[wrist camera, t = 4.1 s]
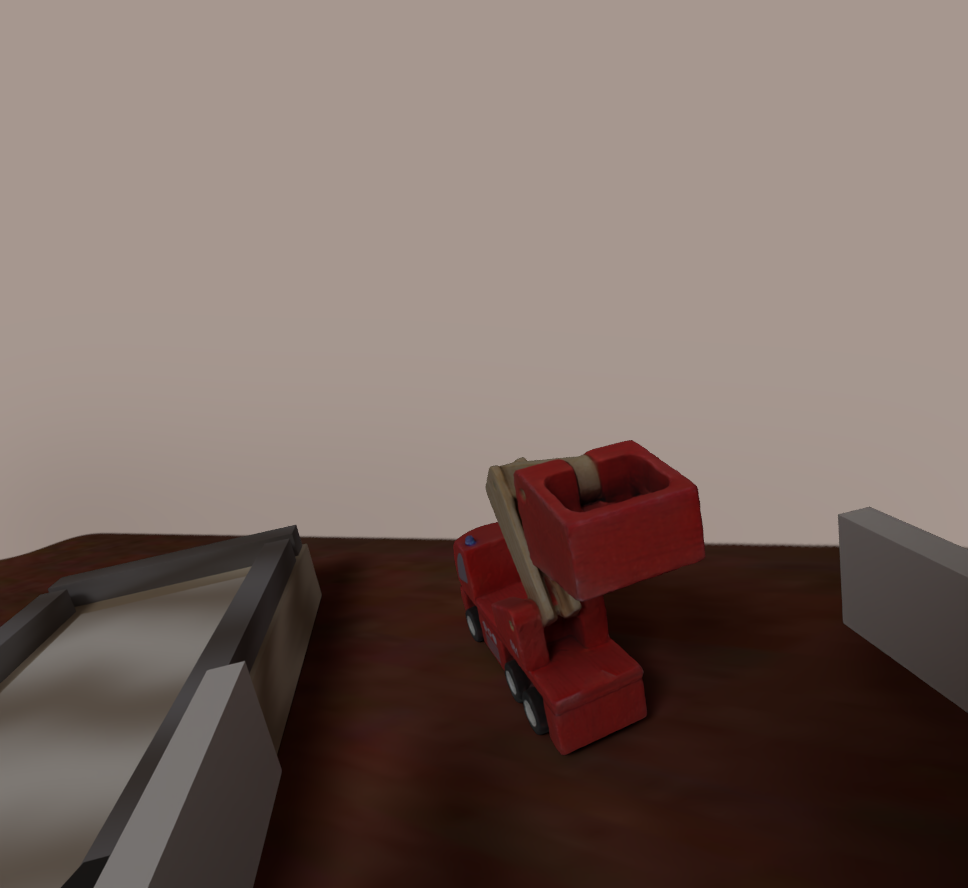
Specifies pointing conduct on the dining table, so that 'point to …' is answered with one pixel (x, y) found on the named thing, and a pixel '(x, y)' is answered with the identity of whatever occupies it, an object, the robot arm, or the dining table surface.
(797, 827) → the dining table surface
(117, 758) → the dock
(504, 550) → the toy fire truck
